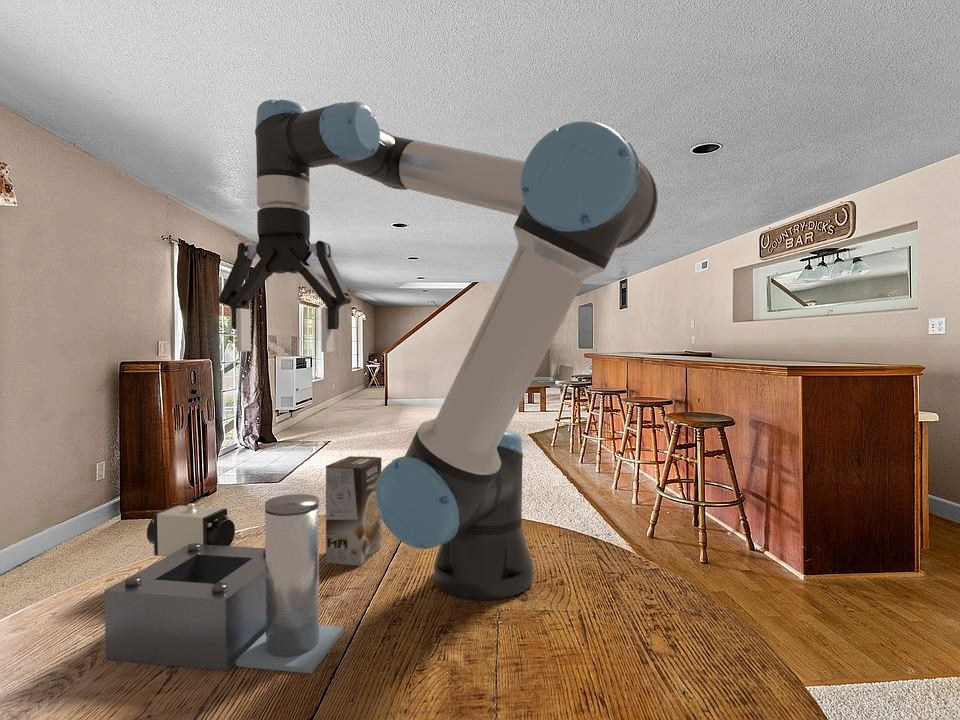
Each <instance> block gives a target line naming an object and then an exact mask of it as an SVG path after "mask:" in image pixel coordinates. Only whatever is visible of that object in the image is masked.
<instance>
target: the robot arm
mask: <svg viewBox="0 0 960 720" xmlns="http://www.w3.org/2000/svg"><path fill="white" fill-rule="evenodd" d="M254 134H255V144H256V145H255V147H256V148H255V149H256V150H255V151H256V154H255V155H256V206H257V207H258V208H259V210H258V211H256V214H257V215H256V216H257V217H256V221H257V224H256V226H257V236H258V242H257V245H254V244H248V243H245V242H239V243H238V245H237V252H236V253H237V254H236V259H235V261H234V263H233V265H232V267H231V269H230V272H229V275H228V277H227V279H226V281H225V284H224V286H223V289H221V292H220V294H219V295H220V296H219V297H218V303H219V304H222V305H225V306H228V307H229V308H230V310H231V327H232V330H235V332H236V335H235V336H236V337H235V338H236V352H252V336H251V335H252V332H251V331H252V329H251V328H252V325H251V321H252V320H251V316H252V315H251V314H252V313H251V311H252V310H251V309H250V308H248V307H247V305H249V303H250V301H251V300H252V299H253V297H255V295H256V293H257V292H258V291H259V289H260V288H261V287H262V285H263V284H264V283H265V282H266V281H267V280H268V278H270V277H271V276H272V275H273V274H274V273H275V274H286V273H290V274H298V273H299V274H300V275H301V276H302V277H303V279H305V281H306V283H307V284H308V285H309V286H310V287H311V288H312V289H313V291H314V292H315V293H316V294H317V296H318V297H319V298H320V299H321V301H322V302H323V303H324V304H325V305H324V306H325V307H320V319H321V321H320V326H321V327H320V330H321V331H320V332H321V333H320V336H321V339H320V342H321V343H320V344H321V345H320V346H321V347H320V348H321V353H329V352H330V353H331V352H332V353H334V351H335V349H334V346H335V345H334V339H335V337H334V333H335V332H334V331H335V330H338V329H339V327H340V308H341V307H343V306H344V305H349V304H350V303H351V302H352V297H351V295H350V293H349V291H348V289H347V286H346V285H345V283H344V281H343V278H342V277H341V274H340V273H339V272H340V271H338V268H337V266H336V264H335V262H334V260H333V258H332V250H331V249H332V248H331V245H330V244H329V243H328V242H325V241H323V240H317V241H316V242H314V243H311V242H310V236H311V216H310V215H309V213H308V211H309V210H310V168H311V169H314V168H318V167H323V166H332V165H333V166H339V167H341V168H343V169H345V170H348V171H351V172H353V173H355V174H358V175H360V176H362V177H366V178H369V179H371V180H374V181H375V182H377V183H381V184H382V185H384V186H386V187H389V188H391V189H395V190H400V191H401V190H402V191H404V190H405V191H406V190H409V191H414V192H419V193H422V194H426V195H430V196H434V197H439V198H443V199H447V200H451V201H456V202H460V203H463V204H467V205H472V206H475V207H480V208H484V209H489V210H491V211H492V210H493V211H497V212H500V213H505V214H508V215H511V216H515V217H517V218H516V221H515V223H514V225H513V227H512V228H513V231H514V234H515V238H516V241H517V249H516V251H515V253H514V255H513V257H512V260H511V262H510V264H509V266H508V268H507V270H506V273H505V274H504V276H503V278H502V281H501V283H500V284H499V287H498V289H497V291H496V292H495V294H494V297H493V299H492V301H491V303H490V305H489V307H488V309H487V312H486V314H485V315H484V318H483V320H482V322H481V324H480V326H479V328H478V331H477V332H476V333H475V337H474V339H473V341H472V343H471V345H470V347H469V349H468V351H467V353H466V355H465V357H464V359H463V362H462V364H461V366H460V368H459V370H458V372H457V375H456V376H455V377H454V380H453V382H452V384H451V386H450V388H449V390H448V392H447V395H446V397H445V399H444V401H443V404H442V405H441V407H440V409H439V411H438V413H437V416H436V417H435V418H433V419H429V420H426V421H424V422H422V423H421V424H420V425H419V426H418V428H417V430H416V432H415V434H414V436H413V438H412V440H411V442H410V445H409V447H408V449H407V451H406V452H405V454H404V455H403V456H400V457H397V458H394V459H393V460H392V461H391V462H390V463H388V464H387V465H386V466H385V467H384V468H382V470H381V474H380V476H379V479H378V482H377V487H376V500H377V506H378V508H379V509H380V511H381V521H383V523H384V525H385V526H386V528H387V530H388V531H389V532H390V533H391V534H392V535H393V536H394V537H395V538H396V539H397V540H399V541H400V542H401V543H402V544H404V545H406V546H409V547H411V548H413V549H417V550H418V549H419V550H428V549H433V548H436V547H438V546H439V549H438V551H437V554H436V558H435V560H434V561H435V562H434V566H433V576H434V577H433V578H434V579H433V580H434V583H435V584H436V586H437V587H438V588H439V589H440V590H442V591H444V592H445V593H447V594H449V595H452V596H455V597H459V598H464V599H470V600H497V599H505V598H510V597H514V596H516V595H518V594H520V593H523V592H525V591H526V590H527V589H529V588H530V586H531V585H532V584H533V581H534V563H533V561H532V557H531V555H530V550H529V548H528V544H527V541H526V539H525V535H524V532H523V529H522V528H523V526H522V525H523V523H522V519H523V518H522V517H523V516H522V514H523V513H522V512H523V511H522V510H523V505H522V504H523V458H524V452H523V447H522V446H523V444H522V442H523V441H522V438H521V436H520V434H519V433H518V432H515V431H512V430H507V429H508V427H509V425H510V424H511V422H512V420H513V418H514V416H515V414H516V413H517V410H518V408H519V406H520V404H521V402H522V400H523V399H524V397H525V394H526V392H527V391H528V389H529V387H530V385H531V383H532V381H533V379H534V378H535V376H536V374H537V372H538V370H539V368H540V366H541V364H542V362H543V360H544V358H545V357H546V354H547V352H548V350H549V348H550V346H551V345H552V342H553V341H554V339H555V337H556V335H557V333H558V331H559V329H560V327H561V325H562V324H563V322H564V320H565V317H566V316H567V314H568V311H569V310H570V309H571V307H572V304H573V302H574V301H575V298H576V297H577V294H578V292H579V291H580V289H581V287H582V285H583V283H584V281H585V280H586V279H587V278H589V277H592V276H595V275H597V274H599V273H600V274H601V273H603V272H605V269H606V268H607V266H608V264H609V262H610V261H611V258H612V256H613V254H614V253H615V251H616V250H617V249H620V248H623V247H624V248H625V247H627V246H630V245H631V244H633V243H634V242H635V241H637V240H638V239H640V238H641V237H642V236H643V235H644V234H645V233H646V231H647V230H648V229H649V228H650V227H651V224H652V222H653V220H654V218H655V216H656V212H657V208H658V207H657V206H658V202H659V201H658V200H659V198H658V190H657V185H656V182H655V180H654V177H653V176H652V174H651V173H650V171H649V170H648V168H647V166H645V165H644V163H643V162H642V161H641V159H640V158H639V157H638V154H637V152H636V150H635V148H634V147H633V145H632V144H631V142H629V141H628V140H627V139H626V138H625V137H624V136H622V135H620V134H619V133H618V132H617V131H615V130H614V129H613V128H611V127H609V126H607V125H605V124H602V123H600V122H597V121H588V120H579V121H572V122H568V123H567V124H564V125H561V126H560V127H558V128H555V129H553V130H551V131H550V132H548V133H546V134H545V135H544V136H543V137H542V138H540V140H538V142H536V144H535V145H534V146H533V148H532V149H531V150H530V151H529V153H528V156H527V157H526V160H525V161H524V160H519V159H514V158H509V157H503V156H499V155H494V154H488V153H483V152H478V151H473V150H468V149H462V148H456V147H451V146H448V145H441V144H435V143H432V142H425V141H421V140H413V139H410V138H405V137H401V136H400V137H399V136H397V135H396V136H395V135H394V134H391V133H389V132H387V131H385V130H384V129H381V128H380V125H379V122H378V119H377V118H376V115H375V114H373V113H372V112H371V108H370V107H368V106H367V105H366V104H365V103H363V102H361V101H350V102H349V101H348V102H335V103H333V104H330V105H327V106H323V107H319V108H315V109H311V110H307V108H306V107H304V106H303V105H302V104H299V103H298V102H295V101H294V100H293V101H292V100H288V99H277V100H276V99H269V100H265V101H263V102H261V103H260V104H259V105H258V107H257V111H256V122H255V129H254ZM312 253H313V255H314V256H315V257H316V258H317V260H318V262H319V264H320V266H321V268H322V271H323V272H324V273H323V274H325V276H326V279H327V280H328V283H329V284H330V286H331V287H330V288H331V289H332V291H333V292H332V291H331V289H330V288H328V286H327V285H326V284H325V282H324V281H323V280H322V279H321V277H320V276H319V275H318V274H317V272H315V269H314V268H313V266H312V265H311V264H310V262H308V259H309V258H310V256H312ZM257 256H258V257H259V258H260V259H259V261H257V263H256V264H255V265H254V266H253V267H254V268H253V271H252V272H251V274H250V275H249V276H248V273H249V272H250V270H251V267H252V264H253V262H254V261H253V260H254V259H256V258H257ZM247 276H248V278H246V277H247Z"/></svg>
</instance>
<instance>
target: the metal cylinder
mask: <svg viewBox="0 0 960 720" xmlns="http://www.w3.org/2000/svg"><path fill="white" fill-rule="evenodd" d="M319 502H320V499H319V497H317V496H316V495H312V494H306V493H298V494H297V493H296V494H295V493H294V494H285V495H279V496H275V497H272V498H269V499H268V500H266V501H265V502H264V545H265V546H264V548H265V582H266V650H267V652H268V653H269V654H271V655H273V656H277V657H294V656H298V655H302V654H304V653H307V652H309V651H311V650H312V649H314V648H315V647H316V646H317V645H318V643H319V625H320V526H319V525H320V515H319V514H320V511H319V509H320V505H319V504H320V503H319Z"/></svg>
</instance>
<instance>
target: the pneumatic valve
mask: <svg viewBox="0 0 960 720" xmlns="http://www.w3.org/2000/svg"><path fill="white" fill-rule="evenodd" d="M235 526H236V525H235V523H234V521H233V520H232V519H229V515H228V508H224V507H223V508H219V507H211V506H207V507H206V506H202V505H200V506H195V503H191V502H190V503H187V505H176V504H175V505H173V506H171V507H169V508H166V509H163V510H160V511H159V512H156V513H154V514H153V517H152V519H151V520H150V521H149V524H148V525H147V529H146V539H147V540H148V542H149V543H150V544H152V545H153V546H152V549H154V550H153V553H154V556H157V557H167V556H169V555H170V554H172V553H174V552H176V551H178V550H180V549H182V548H183V547H185V546H187V545H189V544H194V543H200V544H205V545H221V546H232V544H233V541H234V538H235V534H236V527H235Z"/></svg>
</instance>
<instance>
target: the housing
mask: <svg viewBox="0 0 960 720" xmlns="http://www.w3.org/2000/svg"><path fill="white" fill-rule="evenodd" d="M103 591H104V593H103V595H104V602H103V603H104V635H105V636H104V638H105V642H104V643H105V660H110V661H120V662H130V663H141V664H152V665H159V666H170V667H172V666H173V667H180V668H181V667H182V668H190V669H192V668H193V669H202V670H212V671H221V672H222V671H224V672H228V670H229V669H230V668H232V666H233V665H235V664H236V661H237V660H238V659H239V658H240V657H241V656H242V655H243V654H244V653H245V652H246V651H247V650H248V649H249V648H250V647H251V646H252V645H253V644H254V643H255V642H256V641H257V640H258V639H259V638H260V637H261V636H262V635H263V634H264V633H265V632H266V582H265V547H252V546H251V547H250V546H237V545H235V546H234V545H230V546H221V545H205V544H200V543H194V544H189V545H187V546H185V547H183V548H182V549H180V550H178V551H176V552H174V553H172V554H170V555H169V556H167V557H166V556H164V558H162V559H159V560H158V561H156V562H154V563H153V564H151V565H148V566H147V567H145V568H143V569H141V570H140V571H138V572H135V573H134V574H132V575H130V576H128V577H126V578H124V579H122V580H121V581H119V582H117V583H115V584H113V585H111V586H109V587H108V588H106V589H104V590H103Z"/></svg>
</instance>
